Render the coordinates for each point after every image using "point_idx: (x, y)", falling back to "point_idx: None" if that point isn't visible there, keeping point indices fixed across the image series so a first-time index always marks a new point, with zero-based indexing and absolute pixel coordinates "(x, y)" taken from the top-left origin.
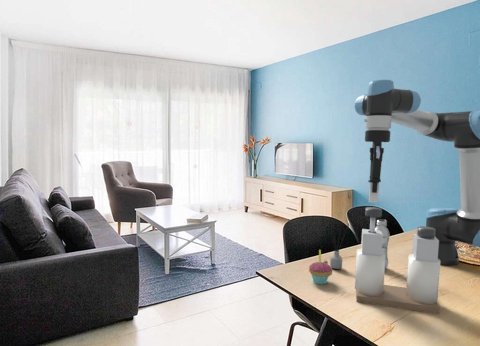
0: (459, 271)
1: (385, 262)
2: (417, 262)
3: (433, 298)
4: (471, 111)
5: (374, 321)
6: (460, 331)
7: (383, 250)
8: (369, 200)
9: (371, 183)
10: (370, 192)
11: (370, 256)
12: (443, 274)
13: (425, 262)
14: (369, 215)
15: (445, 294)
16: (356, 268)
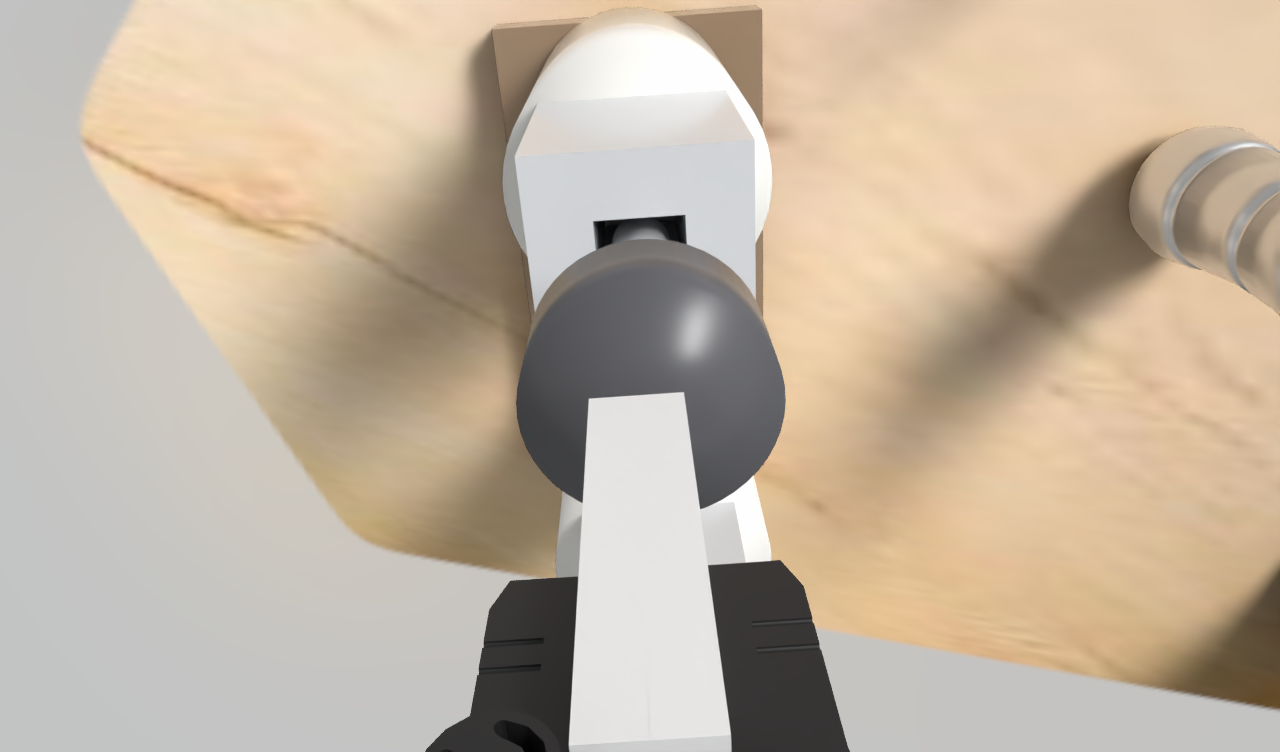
0: (1191, 631)
1: (1157, 246)
2: (570, 514)
3: None
4: None
5: (287, 140)
6: (417, 511)
7: (1224, 261)
8: (587, 421)
9: (569, 745)
10: (584, 539)
11: (508, 185)
12: (1125, 552)
13: (564, 562)
14: (536, 312)
15: (818, 518)
16: (593, 33)
